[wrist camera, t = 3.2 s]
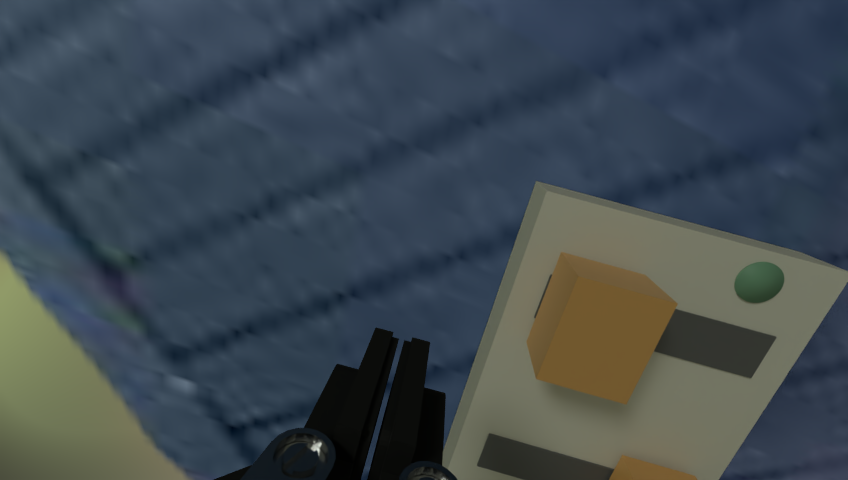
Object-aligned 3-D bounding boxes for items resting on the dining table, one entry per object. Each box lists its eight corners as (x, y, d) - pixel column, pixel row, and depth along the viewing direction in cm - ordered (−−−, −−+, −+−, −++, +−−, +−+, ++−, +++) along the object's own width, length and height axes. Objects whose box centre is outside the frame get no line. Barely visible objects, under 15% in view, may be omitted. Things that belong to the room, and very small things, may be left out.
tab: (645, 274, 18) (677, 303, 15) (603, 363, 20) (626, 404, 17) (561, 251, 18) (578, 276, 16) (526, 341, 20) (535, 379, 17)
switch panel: (799, 251, 20) (855, 274, 17) (639, 521, 27) (660, 571, 24) (536, 180, 21) (547, 191, 18) (439, 463, 27) (435, 505, 24)
